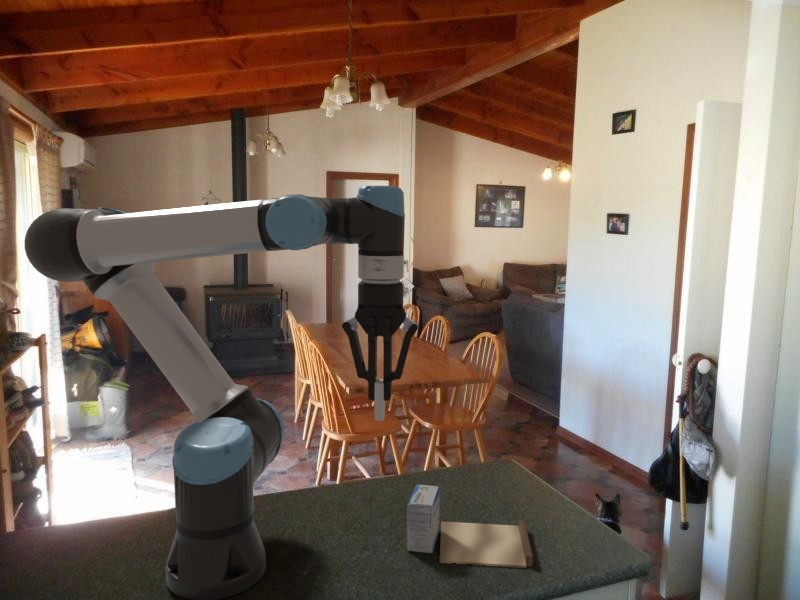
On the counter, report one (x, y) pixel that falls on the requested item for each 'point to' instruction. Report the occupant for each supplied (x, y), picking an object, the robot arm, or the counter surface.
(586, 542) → the counter surface
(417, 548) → the medicine box
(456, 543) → the light wooden board
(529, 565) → the stop rail
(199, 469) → the robot arm
